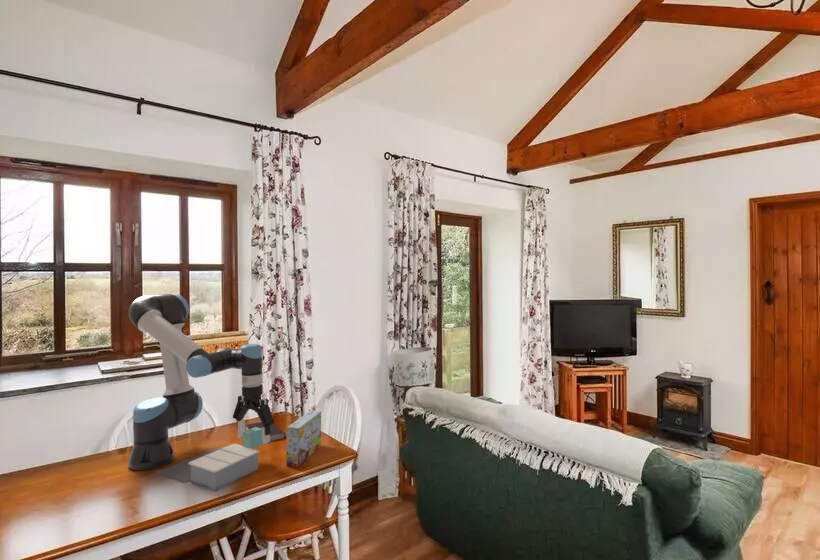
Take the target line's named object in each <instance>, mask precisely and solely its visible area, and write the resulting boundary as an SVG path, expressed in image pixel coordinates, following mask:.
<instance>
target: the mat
mask: <svg viewBox="0 0 820 560" xmlns="http://www.w3.org/2000/svg"><path fill="white" fill-rule="evenodd" d="M221 448H222V447H219V446H218V447H216V448H213V449H210V450H207V451H205V452H203V453H201V454H198V455H196V456H193V457H191V458H188V459H186V460H183V461H181V462H179V463H176V464H174V465H171V466H168V467H167V468H164V469H161V470H159V471H157V472H156V474H158V473H159V475H161V476H164V477H165V478H166V477H167V478H169V479H172V480H173V481H174V480H175V481H177V482H180V483H183V484H186V483H188V482H191V465H189V464H188V462H191V461H193V460H196V459H198V458H200V457H203V456H205V455H208V454H210V453H212V452H215V451H217V450H220V449H221Z"/></svg>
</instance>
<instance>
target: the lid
mask: <svg viewBox="0 0 820 560" xmlns="http://www.w3.org/2000/svg"><path fill="white" fill-rule="evenodd" d="M245 430H246V429H245ZM262 445H264V444H263V436H262V428H257V427H254V428H252V429H249V430H246V431H244V432H243V437H242V445H240V444H237V443H232V444H230V445H227V446H224V447H220V448H221V449H220V450H217V451H215V452H212V453H210V454H208V455H205V456H203V457H200V458H198V459H196V460H193V461H191V462H188V464H189V465H192V466H195V467H198V468H201V469H204V470H207V471H210V472H213V473H216V472H218V471H220V470H222V469H225V468H227V467H229V466H231V465H233V464H235V463H238V462H240V461H242V460H244V459H246V458H248V457H251V456H253V455H255V454H257V453H258V454H259V453H260V452H261V450H259V449H255V448H257V447H259V446H262Z"/></svg>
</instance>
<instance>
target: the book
mask: <svg viewBox="0 0 820 560" xmlns="http://www.w3.org/2000/svg"><path fill="white" fill-rule="evenodd" d="M270 422H271V421H270ZM266 423H267V422H266ZM263 426H264V425H263V423H262V421H258V422H252V423H247V424H246V425H245V428H246V429H245V431H246V430H249V429H252V428H254V427H257V428H262V427H263ZM269 435H270V442H273V441H276V440H280V439H285V438H286V432H285V431H284V430H282V428H281V427H279V426H278V425H277V423H274V424H273V425H271V426H270V434H269Z"/></svg>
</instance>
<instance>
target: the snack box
mask: <svg viewBox="0 0 820 560" xmlns="http://www.w3.org/2000/svg"><path fill="white" fill-rule="evenodd" d="M321 446H322V410H308V412H306V413H304V414H303V415H302V416H301V417H299V418H298V419H297V420H295V421H294V422H293V423H292V422H291V424H289V425H288V426H287V427H286V463H285V464H286V465H285V466H286V467H295V468H299V467H300V466H301V465H303V463H304V462H305V461H306V460H307V459H308V458H310V457H311V456H312V455H313V454H314V453H315V452H316V451H317V450H319V448H320V447H321Z"/></svg>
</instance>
